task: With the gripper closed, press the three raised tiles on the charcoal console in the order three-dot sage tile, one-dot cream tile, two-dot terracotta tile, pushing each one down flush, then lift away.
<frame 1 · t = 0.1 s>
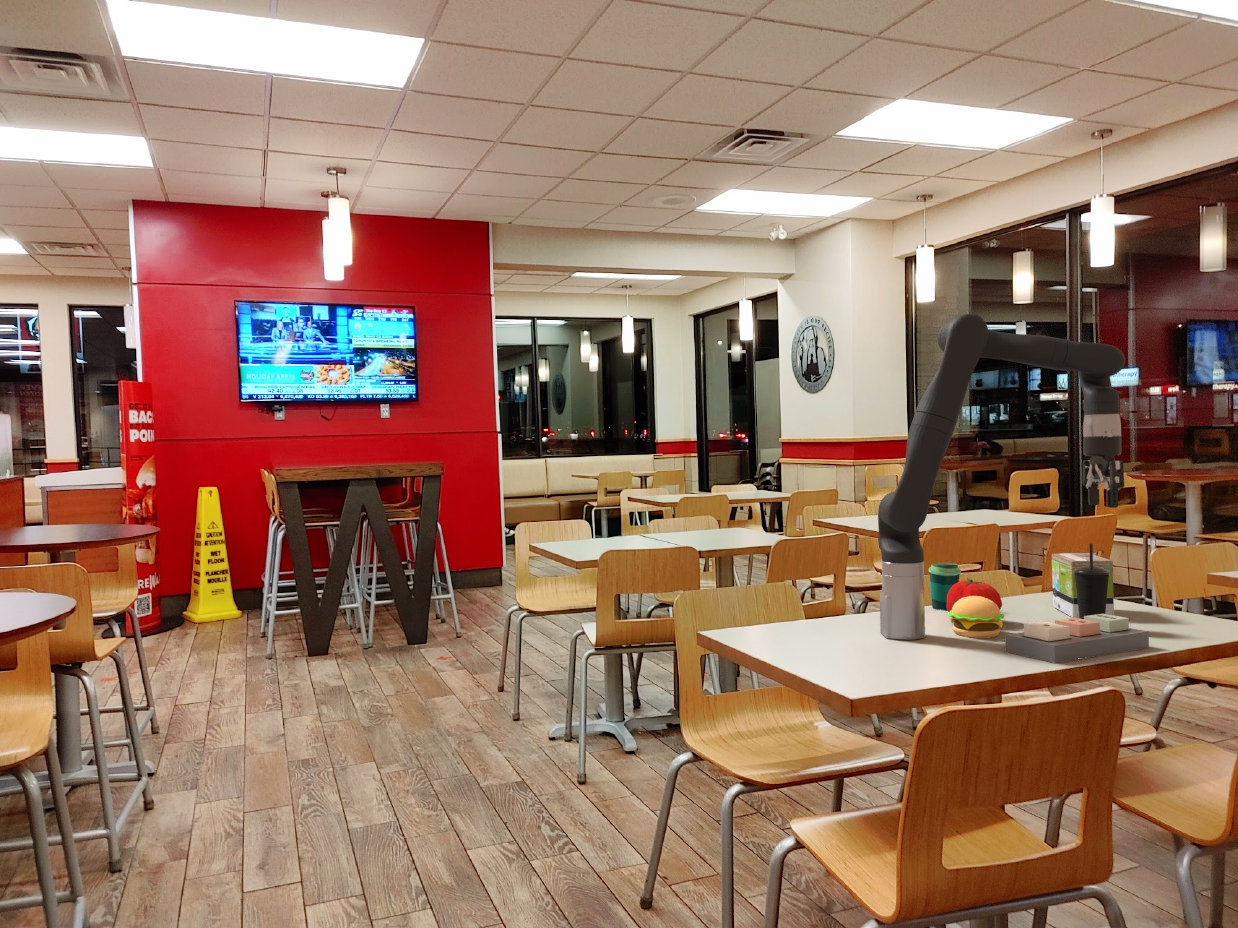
hand: (1102, 506, 199), 29 cm above the table, tool pointing down, fingers open, 8 cm apart
tea box: (1082, 614, 225), on the table
console: (1077, 649, 185), on the table
terracotta tile: (1077, 626, 185), point 5 cm above the table, slide at 0.0 cm
hamburger: (976, 634, 203), on the table
tomato: (974, 623, 216), on the table
sage tile: (1106, 622, 189), point 5 cm above the table, slide at 0.0 cm
cup: (945, 609, 235), on the table
cream tile: (1046, 630, 182), point 5 cm above the table, slide at 0.0 cm
drinking cup: (1092, 629, 206), on the table
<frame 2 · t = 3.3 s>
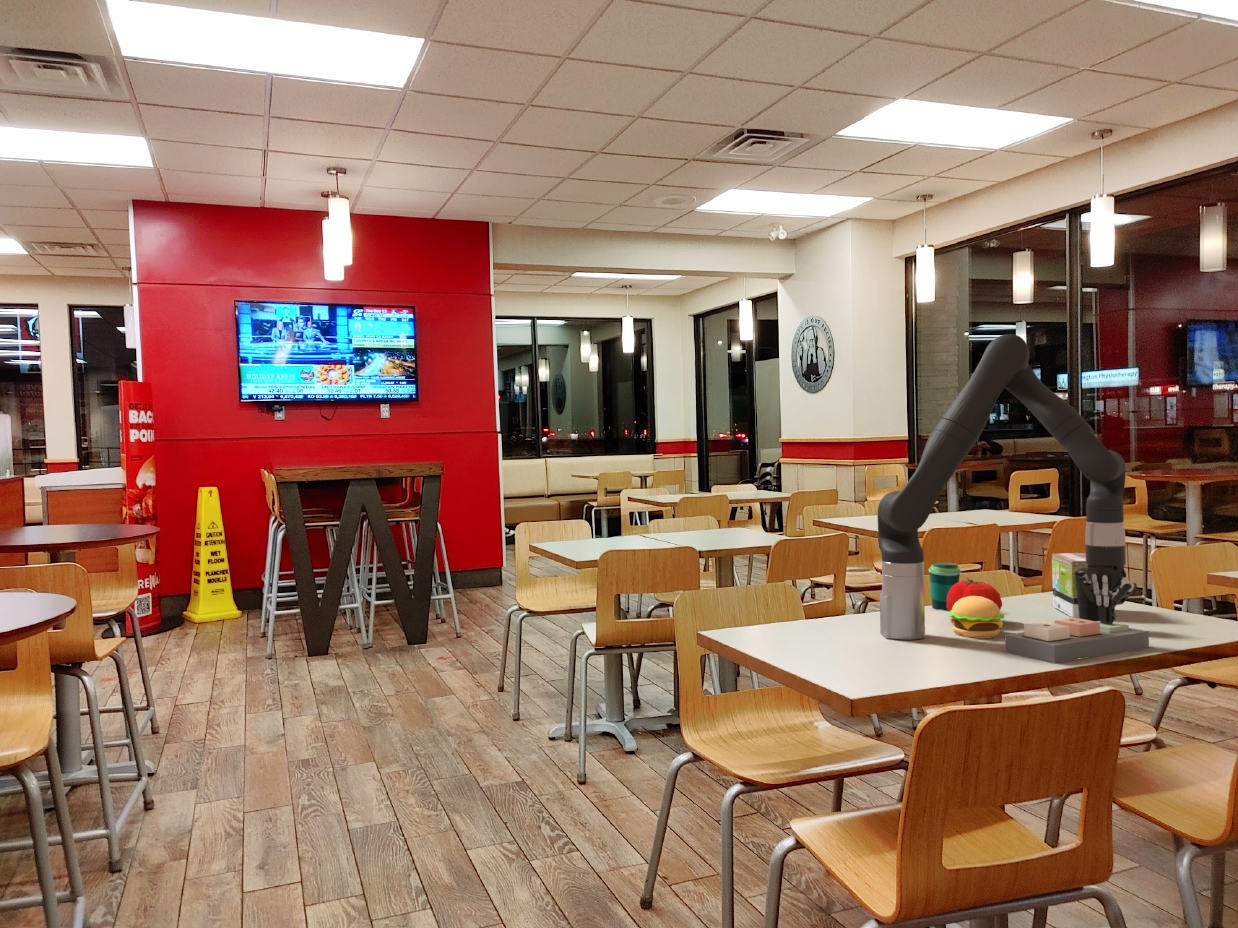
hand: (1106, 623, 189), 5 cm above the table, tool pointing down, fingers closed
sage tile: (1106, 629, 189), point 3 cm above the table, slide at 1.5 cm, touching gripper
everything else where it was.
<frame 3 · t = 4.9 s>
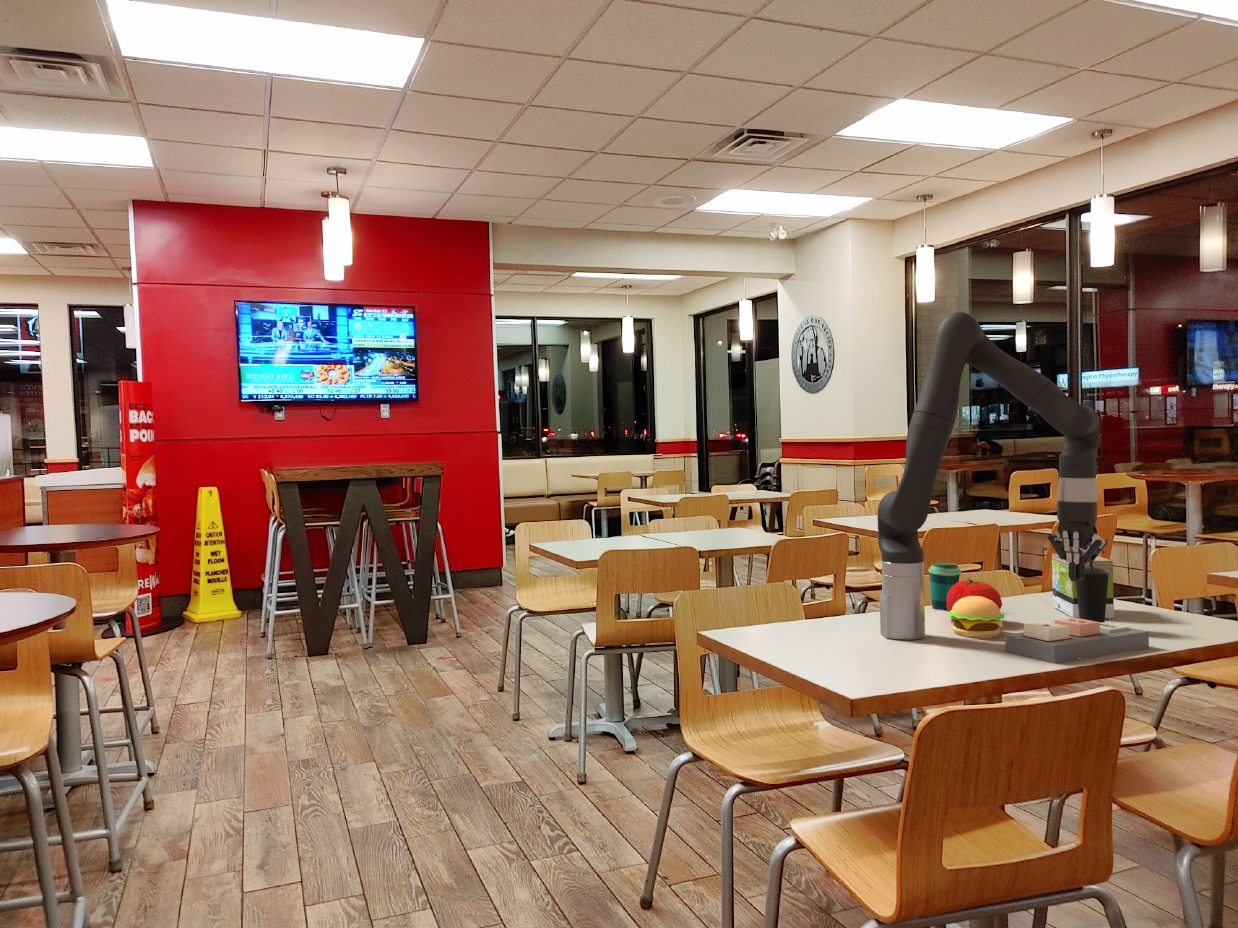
hand: (1076, 581, 186), 14 cm above the table, tool pointing down, fingers closed
sage tile: (1106, 631, 189), point 3 cm above the table, slide at 1.9 cm
everything else where it was.
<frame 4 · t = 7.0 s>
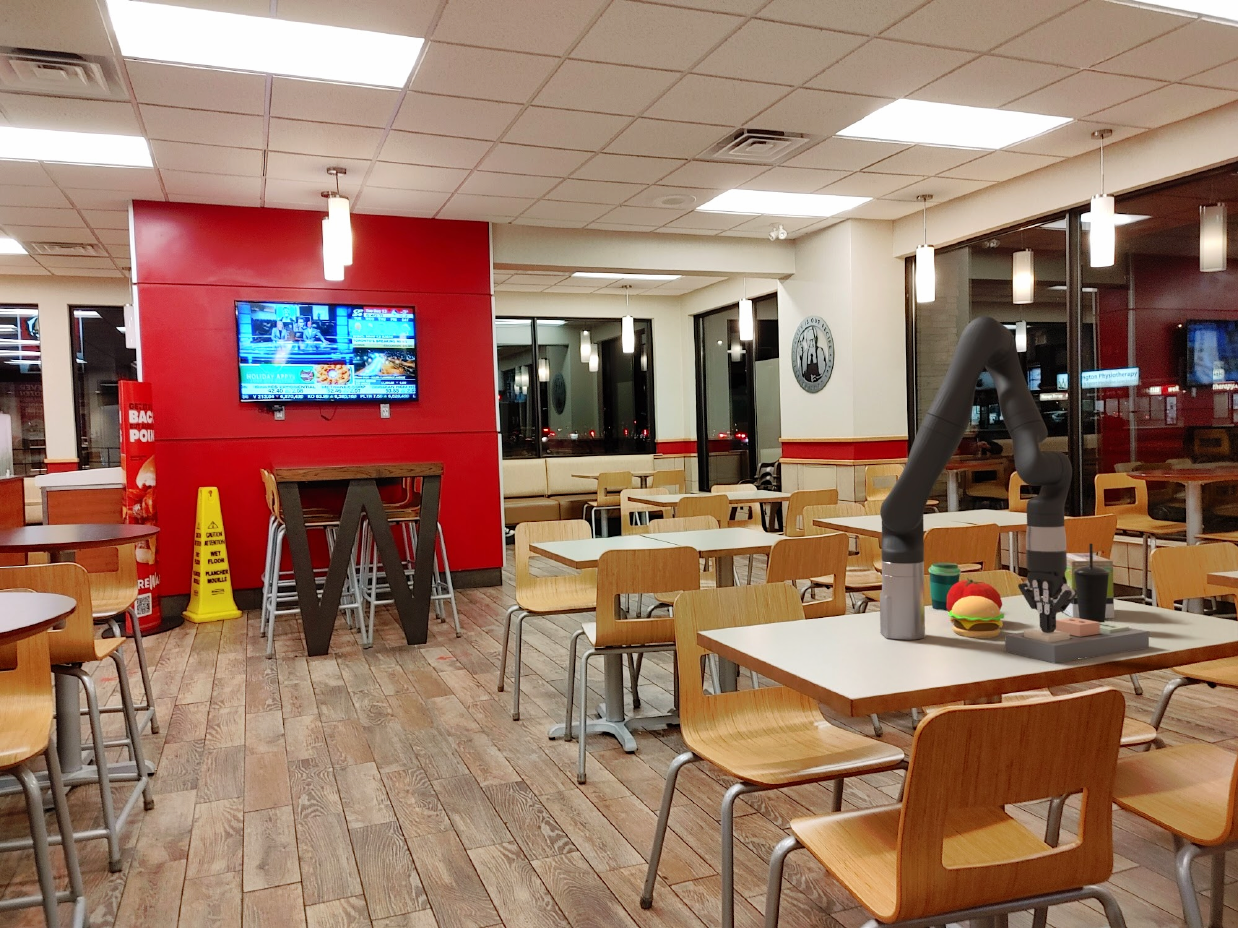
hand: (1047, 631, 182), 5 cm above the table, tool pointing down, fingers closed
cream tile: (1046, 637, 182), point 3 cm above the table, slide at 1.4 cm, touching gripper
everything else where it was.
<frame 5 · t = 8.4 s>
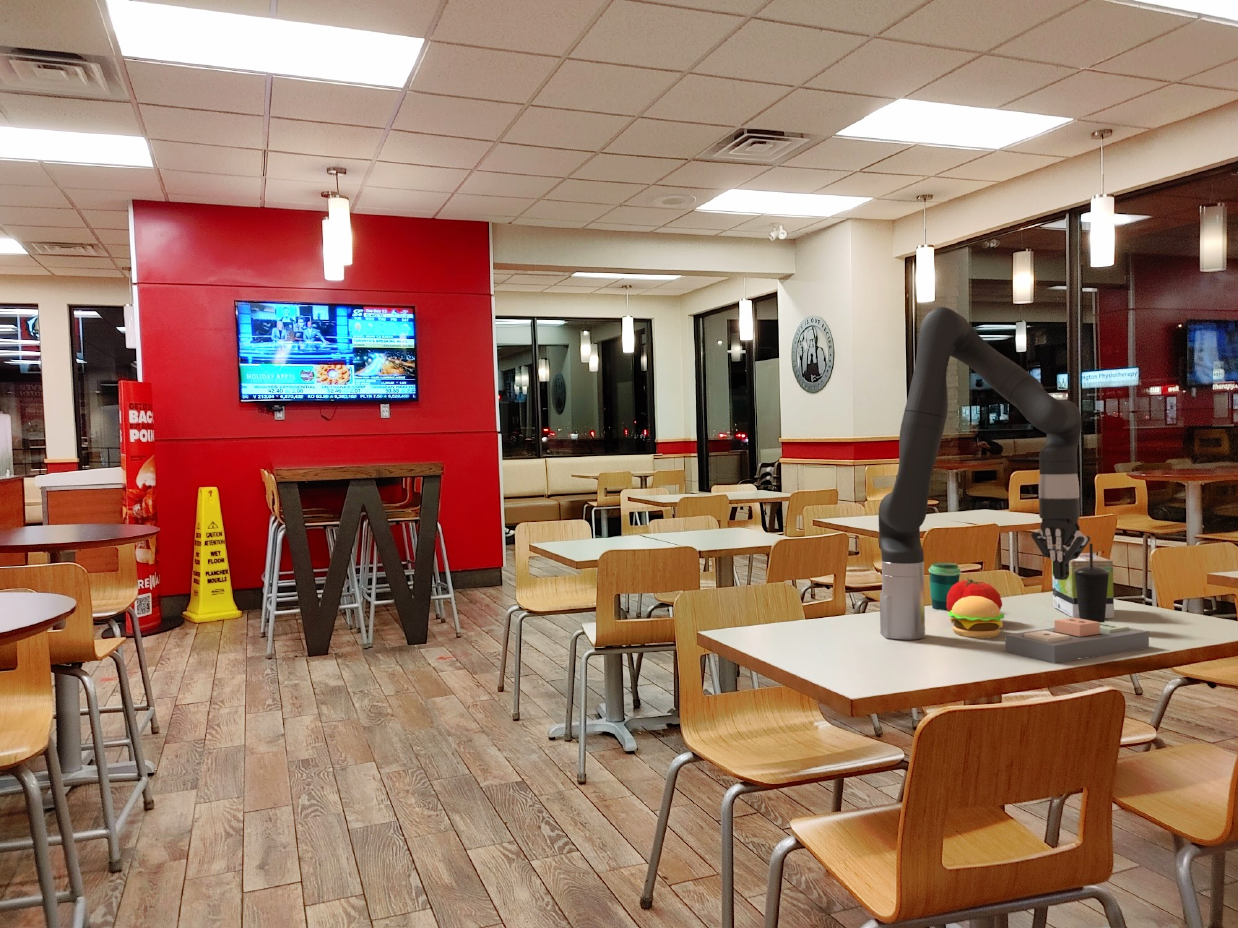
hand: (1061, 579, 183), 15 cm above the table, tool pointing down, fingers closed
cream tile: (1046, 639, 182), point 3 cm above the table, slide at 1.9 cm
everything else where it was.
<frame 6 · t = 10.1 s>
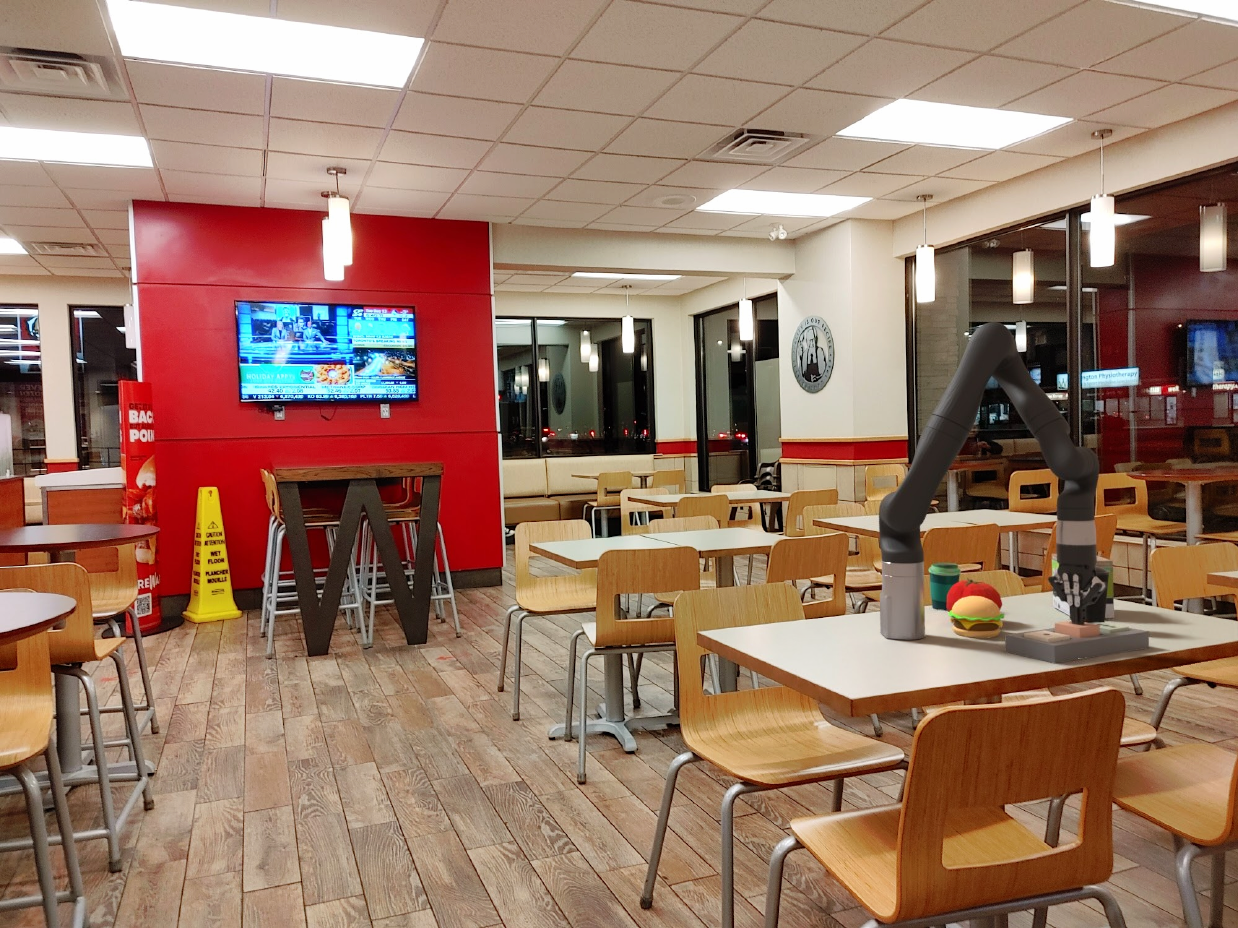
hand: (1077, 623, 186), 5 cm above the table, tool pointing down, fingers closed
terracotta tile: (1077, 629, 185), point 4 cm above the table, slide at 0.6 cm
everything else where it was.
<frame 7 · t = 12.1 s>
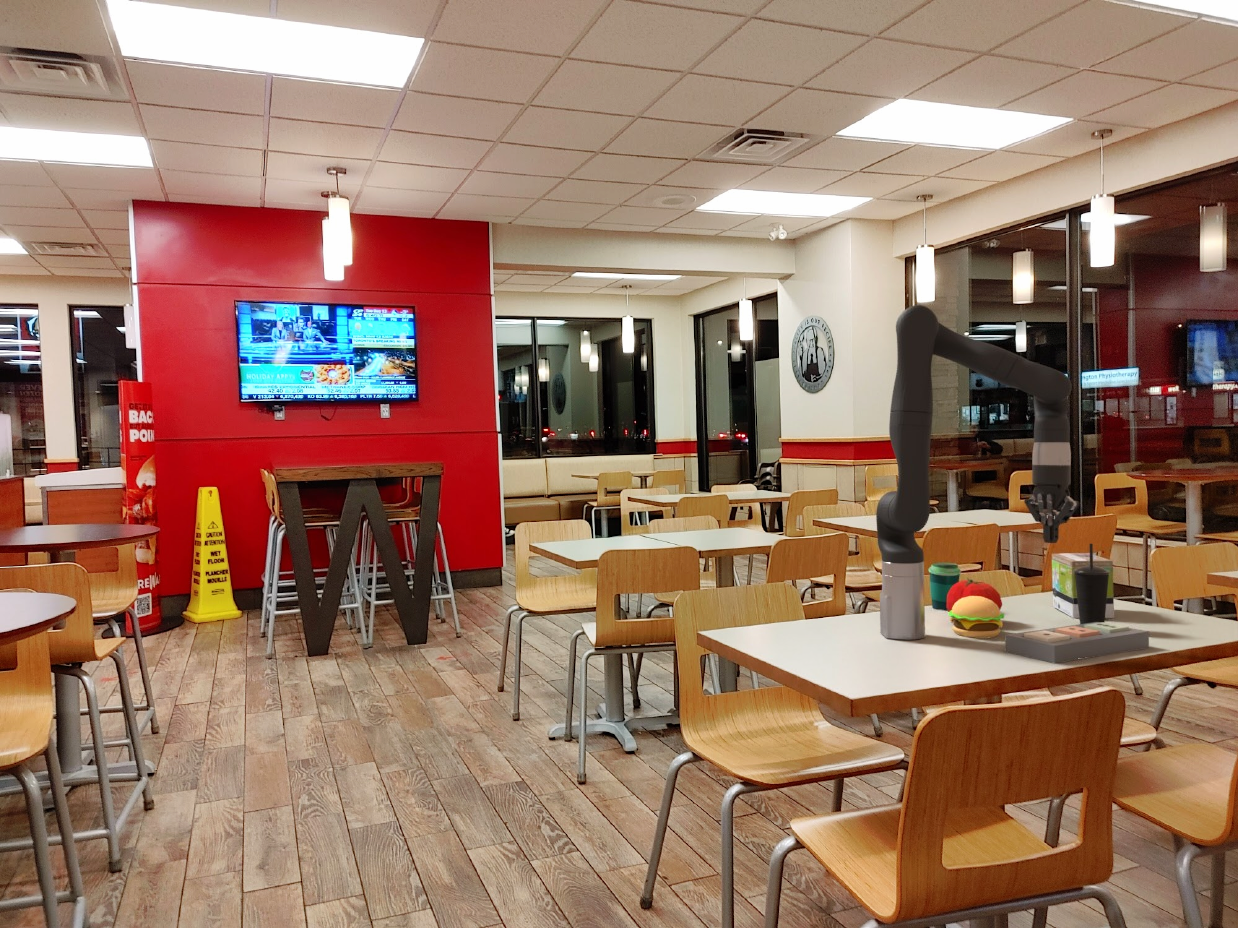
hand: (1050, 542, 192), 22 cm above the table, tool pointing down, fingers closed
terracotta tile: (1077, 635, 185), point 3 cm above the table, slide at 1.9 cm
everything else where it was.
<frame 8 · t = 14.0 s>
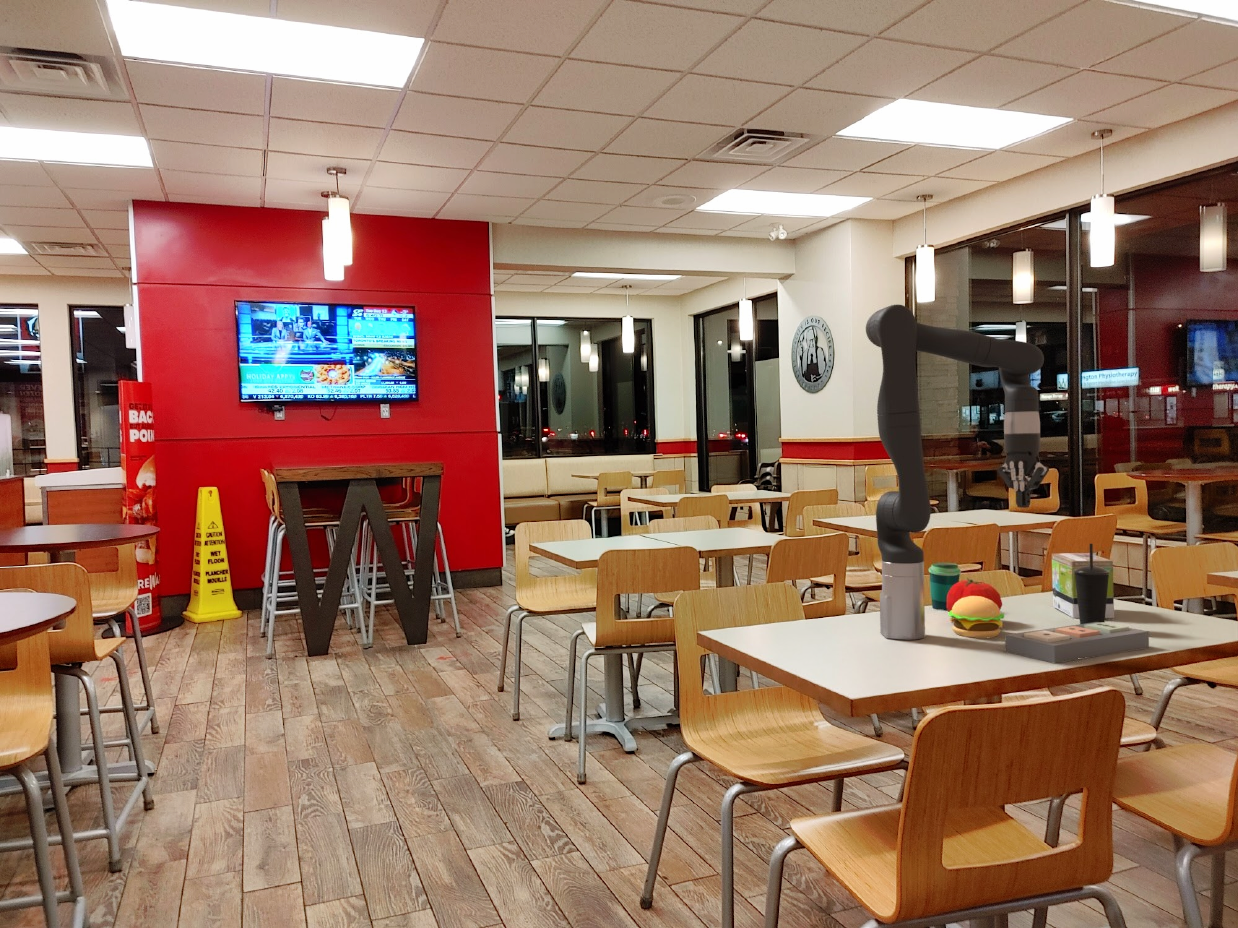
hand: (1023, 507, 202), 29 cm above the table, tool pointing down, fingers closed
nothing on the table moved.
at the end: sage tile slide at 1.9 cm; cream tile slide at 1.9 cm; terracotta tile slide at 1.9 cm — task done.
